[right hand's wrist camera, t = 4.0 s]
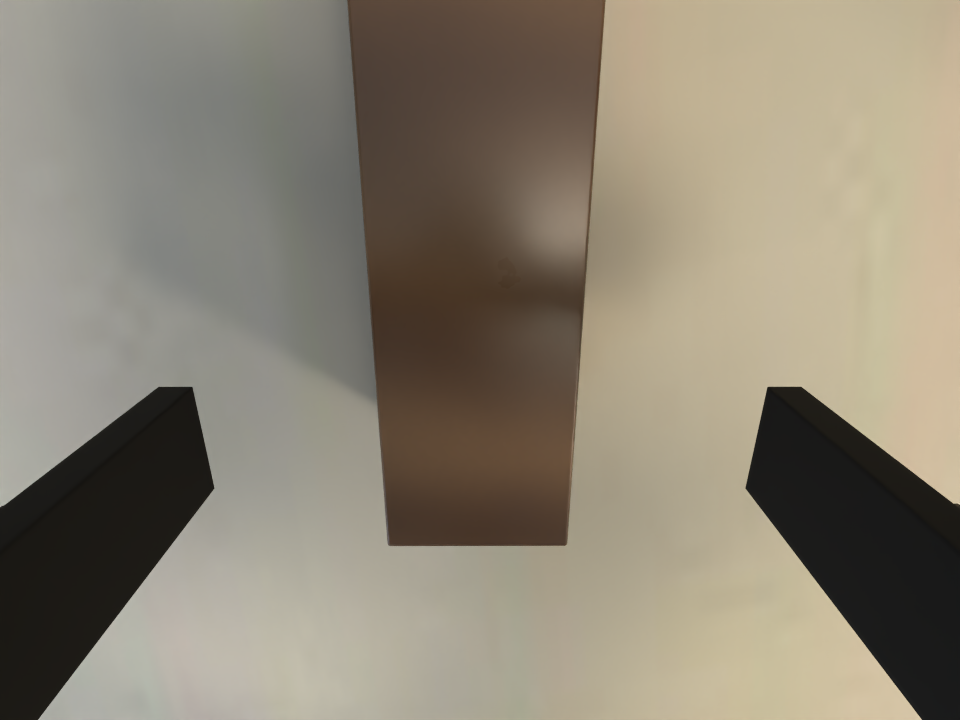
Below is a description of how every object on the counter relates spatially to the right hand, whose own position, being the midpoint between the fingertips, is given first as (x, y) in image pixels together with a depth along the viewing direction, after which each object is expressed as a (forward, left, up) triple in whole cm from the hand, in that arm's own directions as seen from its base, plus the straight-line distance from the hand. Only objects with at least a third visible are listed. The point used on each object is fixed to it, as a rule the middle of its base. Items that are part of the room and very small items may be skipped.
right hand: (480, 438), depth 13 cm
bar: (+13, -15, -11) cm, 22 cm away
